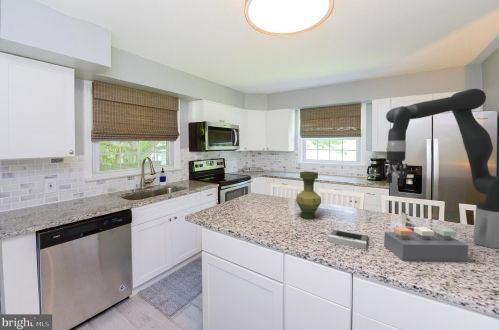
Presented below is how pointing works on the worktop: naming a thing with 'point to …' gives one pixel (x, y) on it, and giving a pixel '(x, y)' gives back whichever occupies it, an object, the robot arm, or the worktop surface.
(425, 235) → the cream key
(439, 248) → the key console
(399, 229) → the terracotta key
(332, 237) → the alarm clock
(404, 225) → the architectural model
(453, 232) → the sage key
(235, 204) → the worktop surface
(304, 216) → the vase
